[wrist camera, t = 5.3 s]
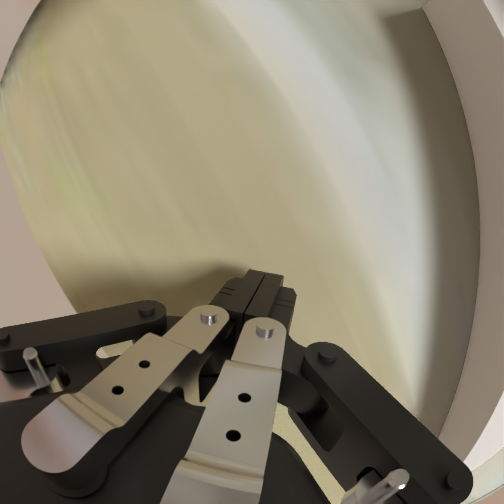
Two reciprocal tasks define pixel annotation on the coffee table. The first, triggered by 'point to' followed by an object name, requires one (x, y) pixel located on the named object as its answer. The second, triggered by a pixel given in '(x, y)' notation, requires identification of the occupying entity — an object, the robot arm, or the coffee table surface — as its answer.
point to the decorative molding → (491, 218)
